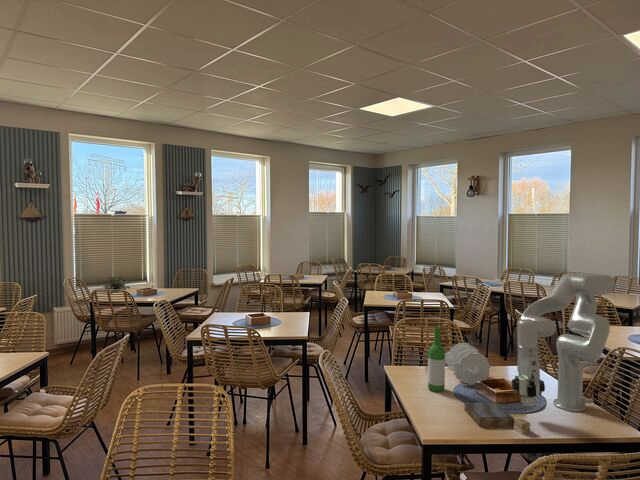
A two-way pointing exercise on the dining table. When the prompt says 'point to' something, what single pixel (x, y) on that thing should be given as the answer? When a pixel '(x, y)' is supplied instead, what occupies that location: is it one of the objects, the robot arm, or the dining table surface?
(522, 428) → the oak block
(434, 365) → the wine bottle
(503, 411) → the stand
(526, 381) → the pneumatic valve
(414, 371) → the dining table surface
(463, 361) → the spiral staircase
